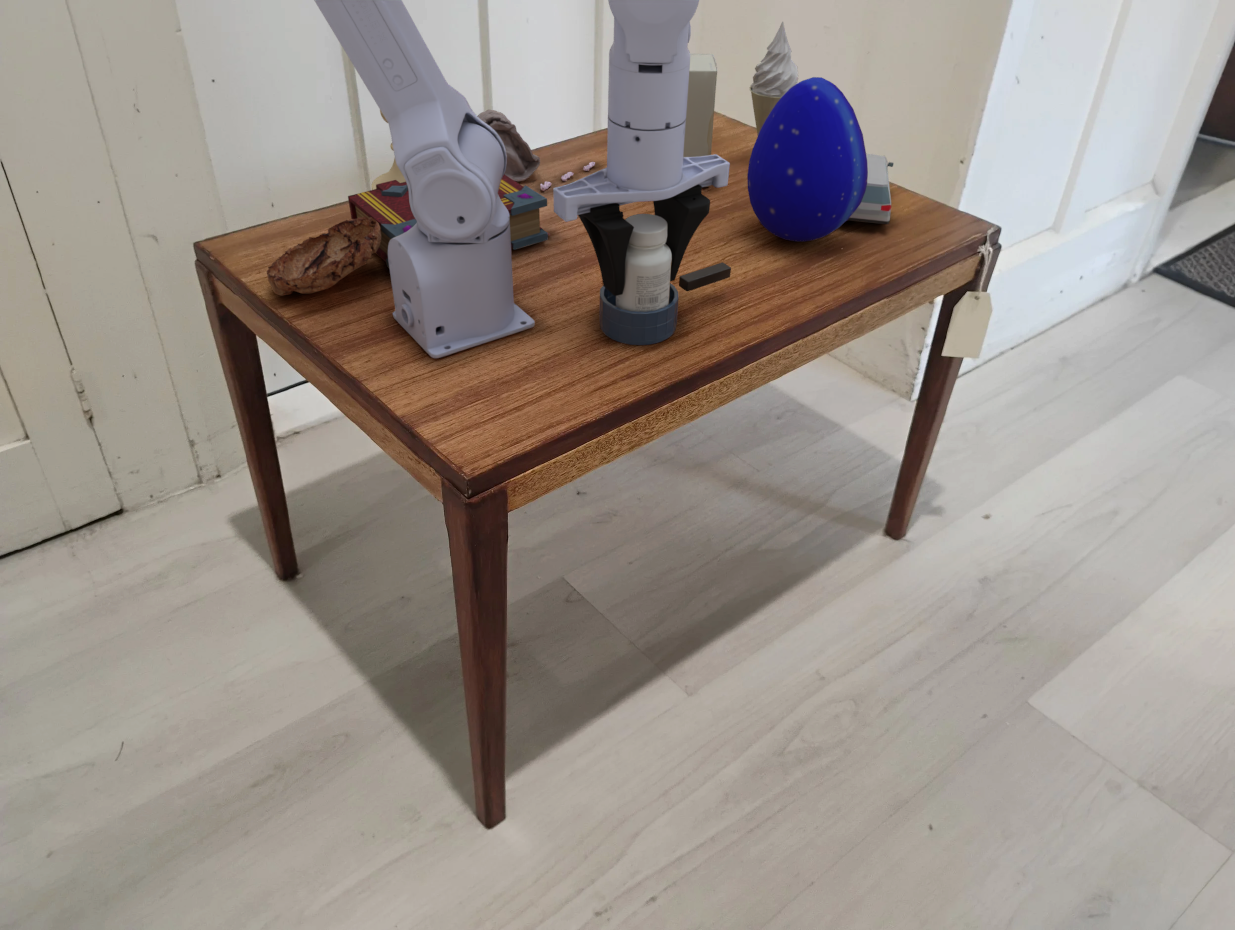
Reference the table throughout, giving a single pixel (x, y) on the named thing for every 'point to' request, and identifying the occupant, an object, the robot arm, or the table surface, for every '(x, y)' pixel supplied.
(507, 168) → the dental mold
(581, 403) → the table surface
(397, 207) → the decorative book
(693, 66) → the cosmetic box
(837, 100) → the ornament
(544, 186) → the pink molecule models
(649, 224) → the pill bottle
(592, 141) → the table surface
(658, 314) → the dark grey open cylinder
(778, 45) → the ice cream cone
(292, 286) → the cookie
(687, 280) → the dark grey rectangular bar
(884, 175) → the toy car
